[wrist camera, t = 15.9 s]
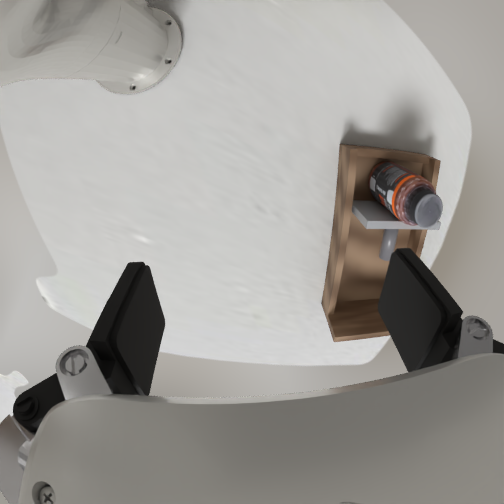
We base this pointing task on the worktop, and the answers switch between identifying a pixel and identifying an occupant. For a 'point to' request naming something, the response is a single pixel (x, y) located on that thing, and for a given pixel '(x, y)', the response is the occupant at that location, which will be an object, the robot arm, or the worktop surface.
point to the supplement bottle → (405, 194)
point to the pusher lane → (364, 243)
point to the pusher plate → (383, 224)
